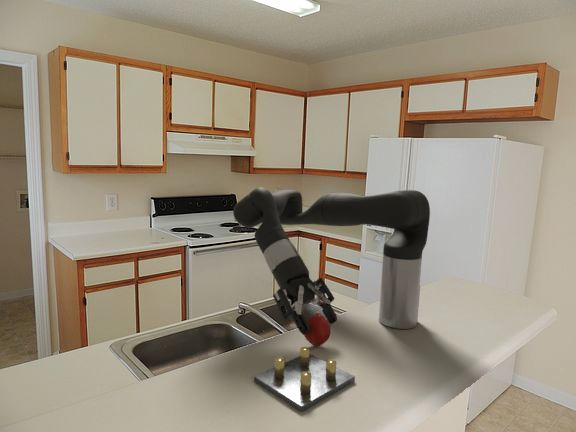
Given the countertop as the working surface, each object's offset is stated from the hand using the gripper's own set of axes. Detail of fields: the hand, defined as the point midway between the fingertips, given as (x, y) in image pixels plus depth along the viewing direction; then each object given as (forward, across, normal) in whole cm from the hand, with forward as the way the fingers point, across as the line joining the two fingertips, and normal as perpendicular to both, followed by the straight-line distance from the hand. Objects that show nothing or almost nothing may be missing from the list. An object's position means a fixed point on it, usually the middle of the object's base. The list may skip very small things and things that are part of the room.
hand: (321, 327), depth 88 cm
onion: (+3, 0, -4) cm, 5 cm away
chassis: (+8, +12, +2) cm, 15 cm away
